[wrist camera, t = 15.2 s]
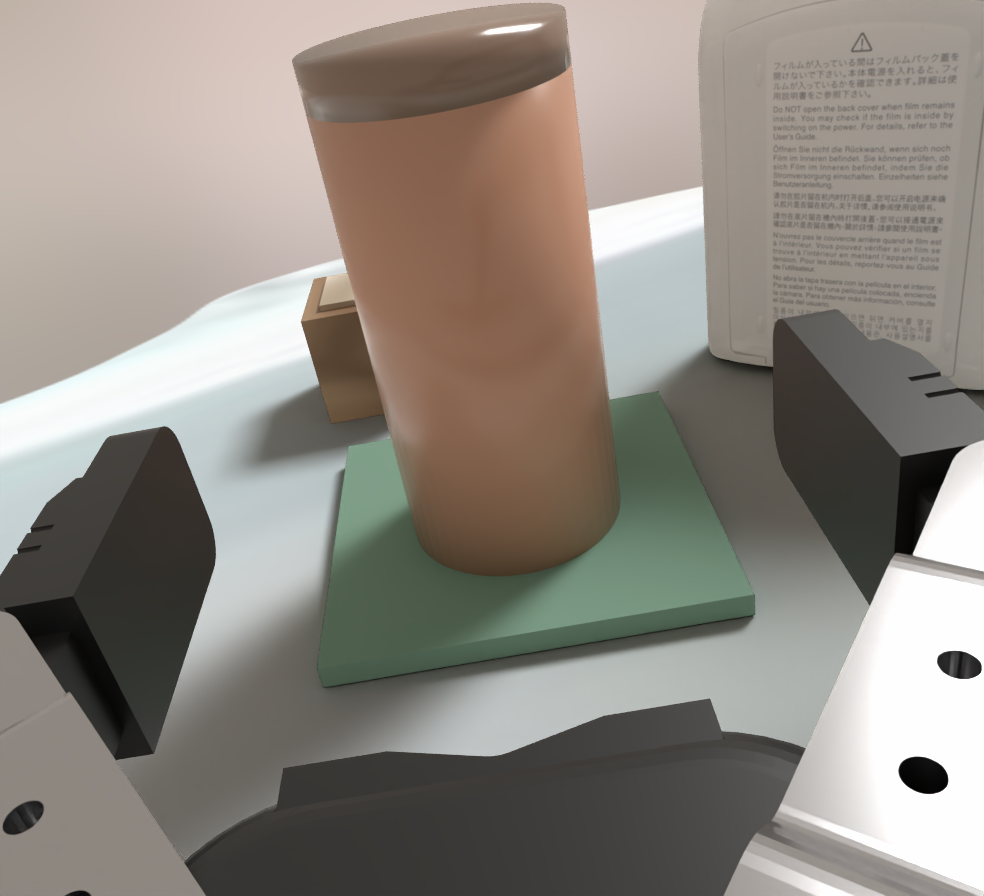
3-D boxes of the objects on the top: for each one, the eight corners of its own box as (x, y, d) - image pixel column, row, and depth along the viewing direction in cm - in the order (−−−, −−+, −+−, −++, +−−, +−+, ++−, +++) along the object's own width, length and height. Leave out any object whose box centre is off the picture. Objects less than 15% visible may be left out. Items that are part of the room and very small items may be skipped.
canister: (603, 437, 27) (549, -8, 21) (638, 555, 23) (583, 25, 16) (416, 469, 28) (309, 38, 21) (412, 592, 23) (272, 83, 17)
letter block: (442, 357, 36) (419, 254, 34) (443, 405, 33) (418, 294, 30) (341, 375, 36) (312, 273, 34) (331, 425, 33) (299, 315, 31)
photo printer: (1053, 342, 29) (1125, -112, 23) (1038, 408, 26) (1116, -91, 20) (733, 317, 34) (720, -56, 28) (690, 370, 32) (665, -34, 25)
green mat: (659, 407, 30) (658, 391, 29) (755, 614, 21) (754, 594, 21) (352, 461, 30) (348, 446, 30) (323, 687, 21) (316, 668, 21)
